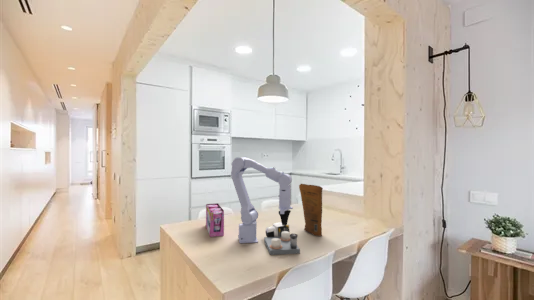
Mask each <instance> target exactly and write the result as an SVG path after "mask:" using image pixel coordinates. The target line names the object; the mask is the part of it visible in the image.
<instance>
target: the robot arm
mask: <svg viewBox="0 0 534 300" xmlns="http://www.w3.org/2000/svg"><path fill="white" fill-rule="evenodd" d="M230 164H231V173H230V176H231V179H232V182H233V185H234V189H235V192H236V194H237V198H238V201H239V203H240V207H241V209H240V219H241V220H240V221H241V222H242V223H239V224H238V235H237V237H238V242H239V244H248V243H258V242H259V240H258V238H257V226H258V225H257V223H258V222H257V219H258V218H259V211H258V210H257V209H255V206H254V204H252V202H251V200H250V196H249V193H248V190H247V188H246V184H245V181H244V179H243V174H244V173H245V171H246V170H247V169H249V168H252V169H253V170H256V171H259V172H261V173H263V174H265V177H266V178H267V179H269V180H272V181H274V183H275V182H276V183H278V185H279V189H278V190H279V191H278V192H279V193H278V195H279V196H278V209H279V210H278V215H279V216H280V222H282V225H283V226H286V225H287V224H288V221H289V216H290V214H291V212H292V210H293V209H294V207H293V206H291V202H292V201H291V199H292V198H291V197H292V195H291V190H292V189H291V187H292V186H291V185H292V184H291V183H292V181H293V178H292V176H291V175H290V174H289V173H285V172H284V171H280V170H278V169H277V168H276V167H275V166H274V167H267V166H265V165H263V164H262V163H259V162H257V160H254V159H252V158H249V157H247V156H241V157H240V156H238V157H235V158H234V159H233V160H232V162H231V163H230Z"/></svg>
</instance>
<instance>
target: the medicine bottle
mask: <svg viewBox="0 0 534 300" xmlns="http://www.w3.org/2000/svg"><path fill="white" fill-rule="evenodd" d="M283 231H288V232H290V231H291V230H290V224H288V223H287V225H286V226H283V225H282V222H281V221H279V222H274V223H272V225H271V226H269V227H268V226H267V227H266V228H265V237H281V232H283ZM290 233H291V232H290Z"/></svg>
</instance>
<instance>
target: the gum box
mask: <svg viewBox="0 0 534 300" xmlns="http://www.w3.org/2000/svg"><path fill="white" fill-rule="evenodd" d="M205 227H206V229H207V234H208V235H209V237H211V238H212V237H223V236H224V235H225V210H224V209H223V208H222V207H221V205H220V204H219V203H206V204H205Z"/></svg>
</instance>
